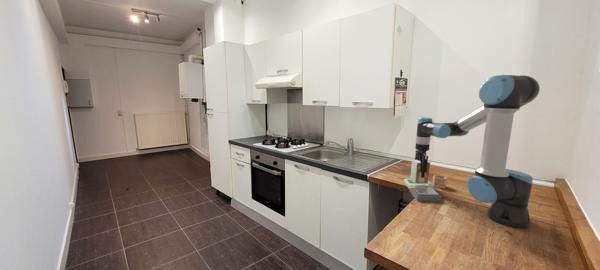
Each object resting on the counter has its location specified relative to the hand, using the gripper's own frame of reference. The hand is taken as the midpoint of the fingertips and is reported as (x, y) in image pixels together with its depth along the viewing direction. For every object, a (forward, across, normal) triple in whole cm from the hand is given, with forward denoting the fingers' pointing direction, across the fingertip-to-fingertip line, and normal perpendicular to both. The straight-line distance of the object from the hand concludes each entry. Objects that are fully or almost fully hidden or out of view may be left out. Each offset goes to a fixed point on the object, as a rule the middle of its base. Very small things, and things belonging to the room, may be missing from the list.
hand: (419, 179), depth 151 cm
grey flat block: (+4, -15, +2) cm, 16 cm away
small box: (+1, 0, 0) cm, 1 cm away
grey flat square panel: (+1, -15, +2) cm, 15 cm away
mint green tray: (+4, 0, 0) cm, 4 cm away
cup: (+4, +2, -13) cm, 14 cm away
